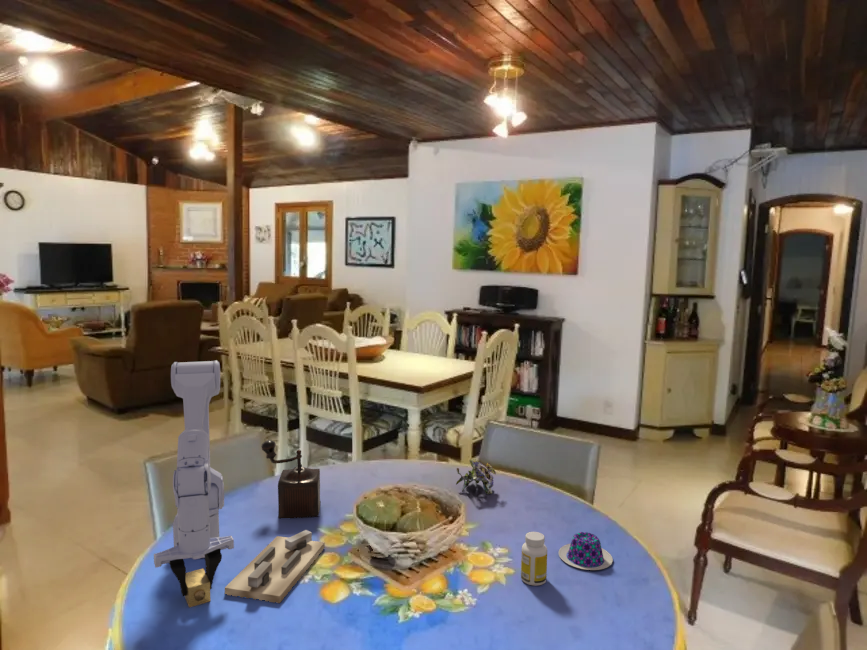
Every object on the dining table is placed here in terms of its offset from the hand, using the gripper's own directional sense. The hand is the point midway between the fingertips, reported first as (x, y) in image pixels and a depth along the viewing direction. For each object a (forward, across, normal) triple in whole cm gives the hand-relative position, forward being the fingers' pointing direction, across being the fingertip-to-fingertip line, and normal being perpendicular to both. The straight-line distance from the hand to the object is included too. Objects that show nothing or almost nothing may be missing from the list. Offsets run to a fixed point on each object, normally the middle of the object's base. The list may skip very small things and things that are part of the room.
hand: (196, 590), depth 118 cm
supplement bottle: (+2, +62, -30) cm, 69 cm away
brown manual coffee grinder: (+2, +29, +29) cm, 41 cm away
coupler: (+1, 0, 0) cm, 1 cm away
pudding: (+2, +79, -29) cm, 84 cm away
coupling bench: (+1, +17, +1) cm, 17 cm away
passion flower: (+2, +78, +13) cm, 80 cm away
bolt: (+2, +42, +1) cm, 42 cm away
